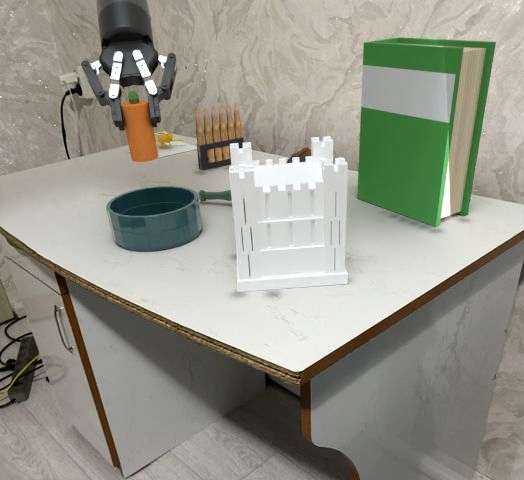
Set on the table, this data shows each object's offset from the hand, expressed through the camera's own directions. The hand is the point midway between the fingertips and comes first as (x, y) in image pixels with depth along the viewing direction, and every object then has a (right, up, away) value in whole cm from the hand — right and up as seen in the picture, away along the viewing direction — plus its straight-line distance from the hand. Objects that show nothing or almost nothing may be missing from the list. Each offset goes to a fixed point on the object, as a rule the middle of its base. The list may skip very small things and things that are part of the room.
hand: (138, 125), depth 75 cm
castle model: (+21, -20, -1) cm, 29 cm away
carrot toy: (0, -3, +4) cm, 5 cm away
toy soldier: (+21, -3, +23) cm, 31 cm away
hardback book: (+42, -8, +14) cm, 45 cm away
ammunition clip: (+9, +9, +42) cm, 44 cm away
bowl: (+1, -13, +11) cm, 17 cm away
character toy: (-7, +17, +56) cm, 59 cm away
